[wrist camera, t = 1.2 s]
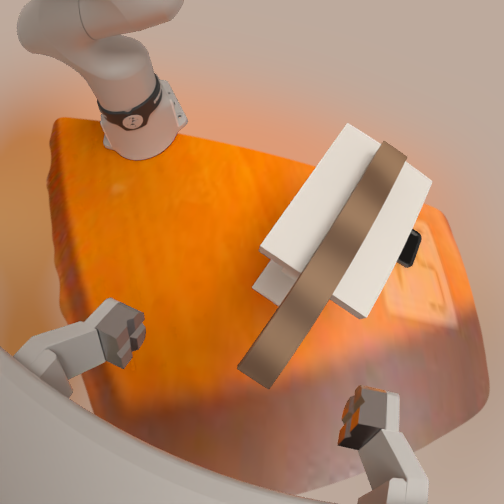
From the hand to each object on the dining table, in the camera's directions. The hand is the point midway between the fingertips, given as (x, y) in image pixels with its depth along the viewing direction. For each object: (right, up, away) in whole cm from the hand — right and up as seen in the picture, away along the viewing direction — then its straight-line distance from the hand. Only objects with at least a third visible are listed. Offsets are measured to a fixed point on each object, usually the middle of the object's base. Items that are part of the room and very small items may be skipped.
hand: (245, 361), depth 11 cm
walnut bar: (+8, +3, +19) cm, 21 cm away
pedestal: (+10, +1, +45) cm, 47 cm away
